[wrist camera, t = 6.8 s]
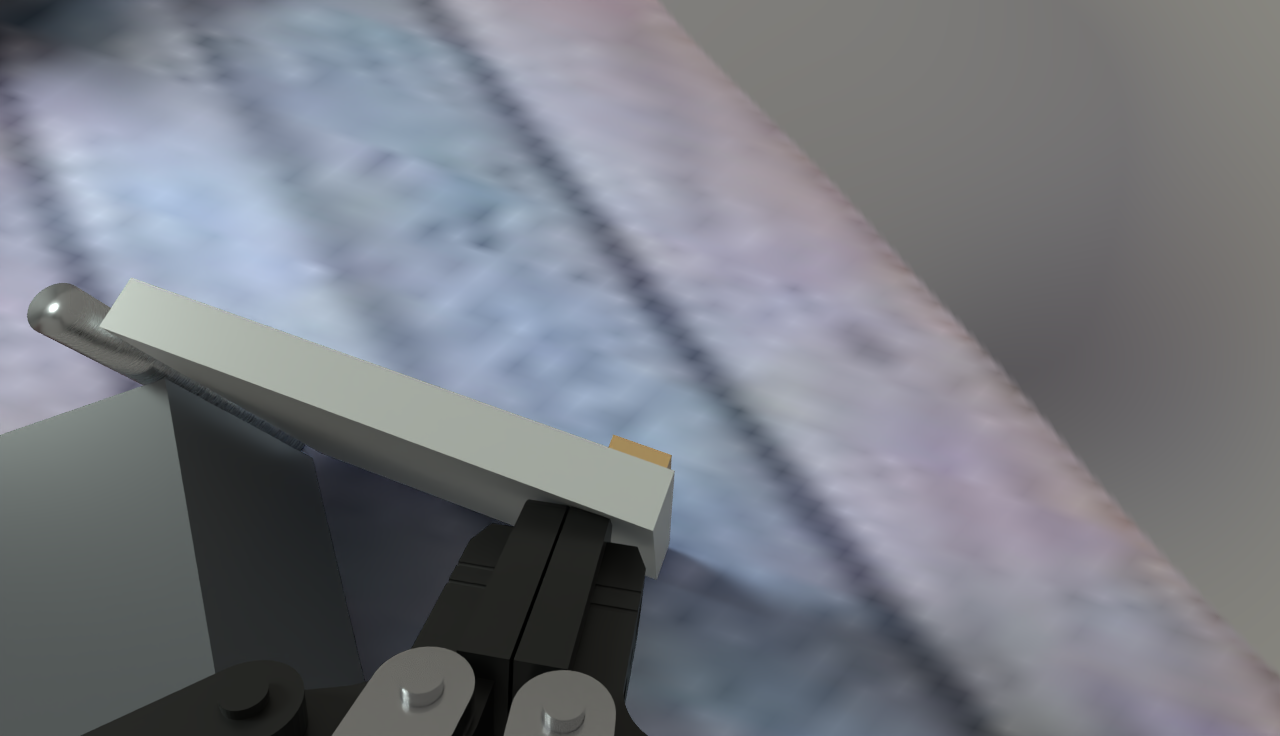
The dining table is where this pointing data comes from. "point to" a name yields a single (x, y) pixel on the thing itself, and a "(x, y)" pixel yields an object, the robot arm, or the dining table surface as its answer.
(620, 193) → the dining table surface
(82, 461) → the block
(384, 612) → the dining table surface
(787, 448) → the dining table surface
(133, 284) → the side door
